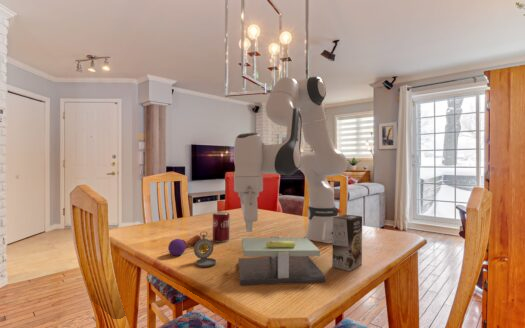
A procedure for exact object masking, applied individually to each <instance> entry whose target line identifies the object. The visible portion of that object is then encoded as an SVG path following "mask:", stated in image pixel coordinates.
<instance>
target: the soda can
mask: <svg viewBox="0 0 525 328" xmlns="http://www.w3.org/2000/svg"><path fill="white" fill-rule="evenodd" d="M230 217H231V216H230V213H229V212H228V211H215V212H213V213H212V241H213V242H215V243H226V242H228V241H229V240H230V222H231V221H230Z"/></svg>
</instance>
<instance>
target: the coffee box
mask: <svg viewBox="0 0 525 328" xmlns="http://www.w3.org/2000/svg"><path fill="white" fill-rule="evenodd" d="M331 256H332V260H331V262H332V265H331V267H333V268H336V269H340V270H343V271H346V272H351V271H353V270H355V269H356V268H358V267H360V266H362V265H363V216H361V215H353V214H342V215H338V216H337V217H333V243H332V255H331Z"/></svg>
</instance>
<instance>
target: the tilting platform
mask: <svg viewBox="0 0 525 328" xmlns="http://www.w3.org/2000/svg"><path fill="white" fill-rule="evenodd" d="M241 247H242V253H243V257H270V256H277V255H278V252H289V257H300V256H309V257H320V256H321V250H320V249H319V247H317V245H315V244H314V242H313V241H312V240H309V239H308V238H306V237H279V238H270V237H242V238H241Z"/></svg>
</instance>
